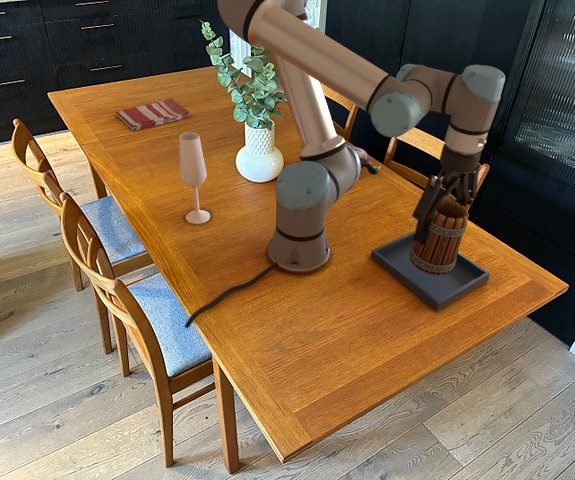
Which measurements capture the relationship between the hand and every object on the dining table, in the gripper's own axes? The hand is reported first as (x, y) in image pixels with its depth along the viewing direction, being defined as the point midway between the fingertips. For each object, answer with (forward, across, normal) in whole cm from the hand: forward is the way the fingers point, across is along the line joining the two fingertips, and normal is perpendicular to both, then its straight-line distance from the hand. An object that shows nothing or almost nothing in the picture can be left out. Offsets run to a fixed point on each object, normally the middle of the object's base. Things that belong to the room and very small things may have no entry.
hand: (436, 233), depth 108 cm
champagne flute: (+12, -37, +49) cm, 63 cm away
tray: (+11, 0, 0) cm, 11 cm away
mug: (+7, 0, 0) cm, 7 cm away
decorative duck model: (+12, +15, +45) cm, 49 cm away
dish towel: (+13, -22, +118) cm, 121 cm away
